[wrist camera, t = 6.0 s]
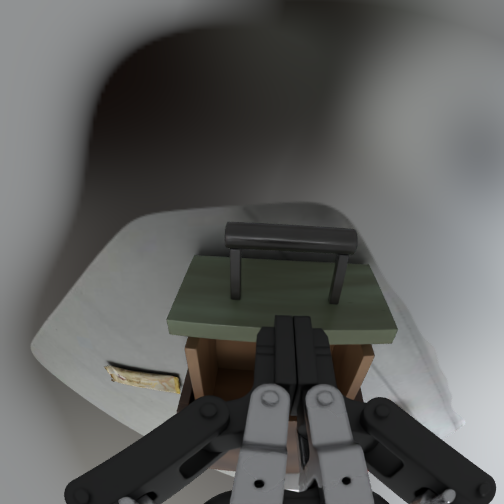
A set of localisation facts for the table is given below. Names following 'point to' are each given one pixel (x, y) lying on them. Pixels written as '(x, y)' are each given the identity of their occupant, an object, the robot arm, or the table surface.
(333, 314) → the drawer
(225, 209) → the table surface
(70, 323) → the table surface
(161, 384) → the snack bar
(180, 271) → the table surface
